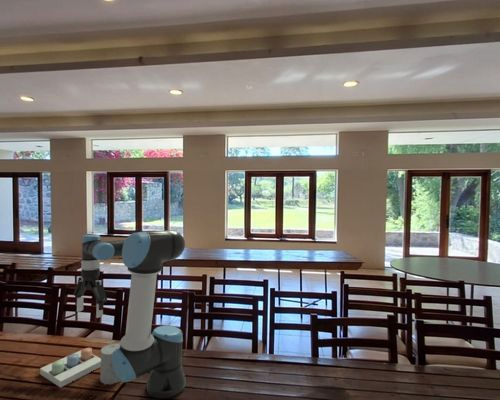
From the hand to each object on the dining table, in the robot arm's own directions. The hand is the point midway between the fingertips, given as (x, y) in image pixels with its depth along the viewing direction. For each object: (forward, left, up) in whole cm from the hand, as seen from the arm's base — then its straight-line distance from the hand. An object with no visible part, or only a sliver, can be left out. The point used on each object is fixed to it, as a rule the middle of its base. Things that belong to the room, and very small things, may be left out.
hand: (89, 313), depth 134 cm
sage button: (-3, +14, -20) cm, 25 cm away
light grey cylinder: (-22, +2, -21) cm, 30 cm away
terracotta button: (-3, +2, -20) cm, 20 cm away
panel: (-3, +8, -21) cm, 23 cm away
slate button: (-3, +8, -20) cm, 22 cm away
